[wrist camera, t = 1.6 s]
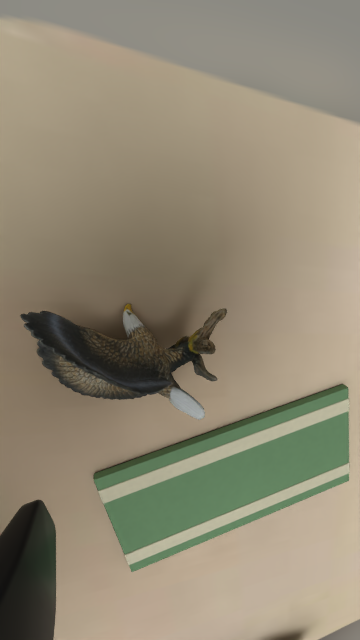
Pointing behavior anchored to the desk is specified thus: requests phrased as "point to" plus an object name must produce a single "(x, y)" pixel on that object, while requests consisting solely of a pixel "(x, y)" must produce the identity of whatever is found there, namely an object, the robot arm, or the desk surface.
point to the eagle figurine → (121, 358)
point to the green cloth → (227, 477)
